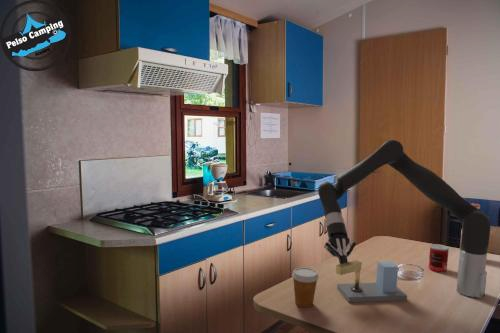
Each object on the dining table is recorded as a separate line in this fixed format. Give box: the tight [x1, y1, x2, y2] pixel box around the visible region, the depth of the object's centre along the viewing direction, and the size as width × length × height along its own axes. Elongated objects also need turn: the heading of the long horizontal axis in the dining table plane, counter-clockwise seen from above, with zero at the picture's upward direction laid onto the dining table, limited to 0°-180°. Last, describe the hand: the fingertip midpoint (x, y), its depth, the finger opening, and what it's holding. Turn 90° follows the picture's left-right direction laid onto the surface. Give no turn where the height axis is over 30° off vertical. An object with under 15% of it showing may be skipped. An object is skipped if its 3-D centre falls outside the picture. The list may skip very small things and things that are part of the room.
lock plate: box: [336, 282, 408, 303], centre depth 152 cm, size 23×12×4 cm, turn 97°
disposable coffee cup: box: [291, 267, 320, 308], centre depth 142 cm, size 10×10×12 cm
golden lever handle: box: [335, 260, 362, 289], centre depth 148 cm, size 11×2×11 cm, turn 123°
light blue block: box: [375, 261, 399, 292], centre depth 152 cm, size 6×6×10 cm
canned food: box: [428, 243, 449, 273], centre depth 180 cm, size 8×8×11 cm
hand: (344, 266), depth 149 cm, fingers closed
